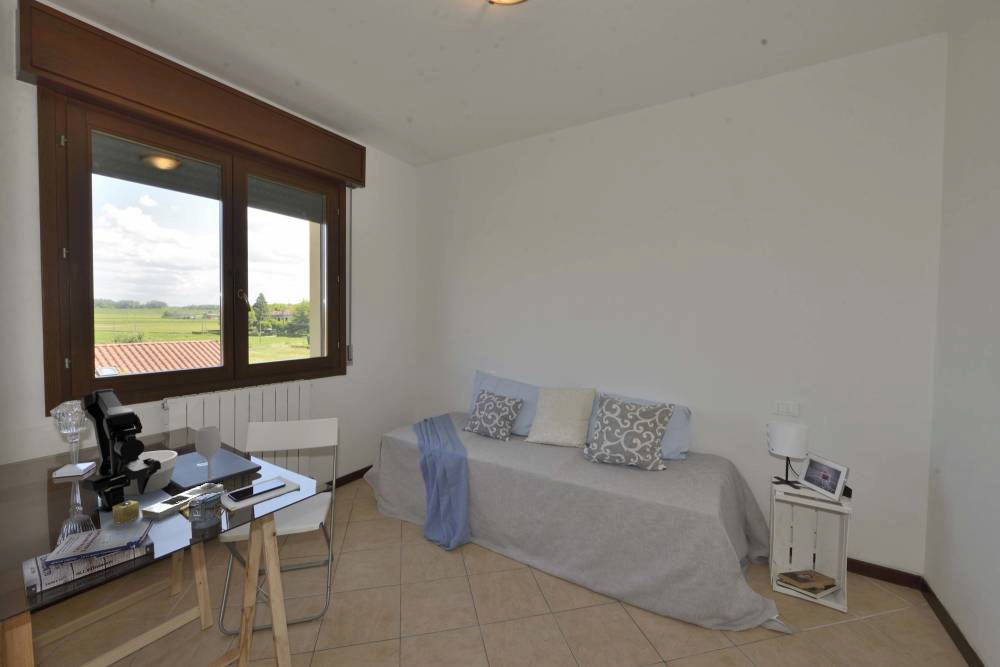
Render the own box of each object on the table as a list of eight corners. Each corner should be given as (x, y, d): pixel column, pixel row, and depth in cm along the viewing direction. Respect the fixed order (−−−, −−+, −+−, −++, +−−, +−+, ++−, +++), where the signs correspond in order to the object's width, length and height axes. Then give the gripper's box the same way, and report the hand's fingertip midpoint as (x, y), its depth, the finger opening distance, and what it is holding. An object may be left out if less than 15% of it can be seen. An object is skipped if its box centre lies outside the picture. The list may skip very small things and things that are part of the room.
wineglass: (229, 479, 167) (226, 425, 166) (208, 488, 159) (205, 432, 157) (211, 476, 169) (209, 424, 168) (190, 485, 161) (187, 430, 160)
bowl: (105, 489, 158) (103, 460, 158) (168, 473, 174) (167, 447, 173) (120, 503, 147) (119, 472, 146) (186, 484, 162) (185, 456, 162)
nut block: (113, 521, 134) (112, 505, 134) (129, 515, 138) (128, 499, 138) (123, 524, 133) (122, 507, 132) (139, 517, 137) (138, 501, 137)
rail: (142, 517, 137) (142, 509, 137) (208, 489, 158) (207, 482, 158) (159, 520, 135) (158, 512, 134) (223, 491, 155) (223, 484, 155)
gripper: (104, 465, 123) (107, 518, 124) (171, 445, 141) (174, 491, 142) (79, 461, 126) (82, 512, 127) (148, 442, 144) (150, 487, 145)
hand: (125, 500), depth 135 cm, fingers open, 9 cm apart
